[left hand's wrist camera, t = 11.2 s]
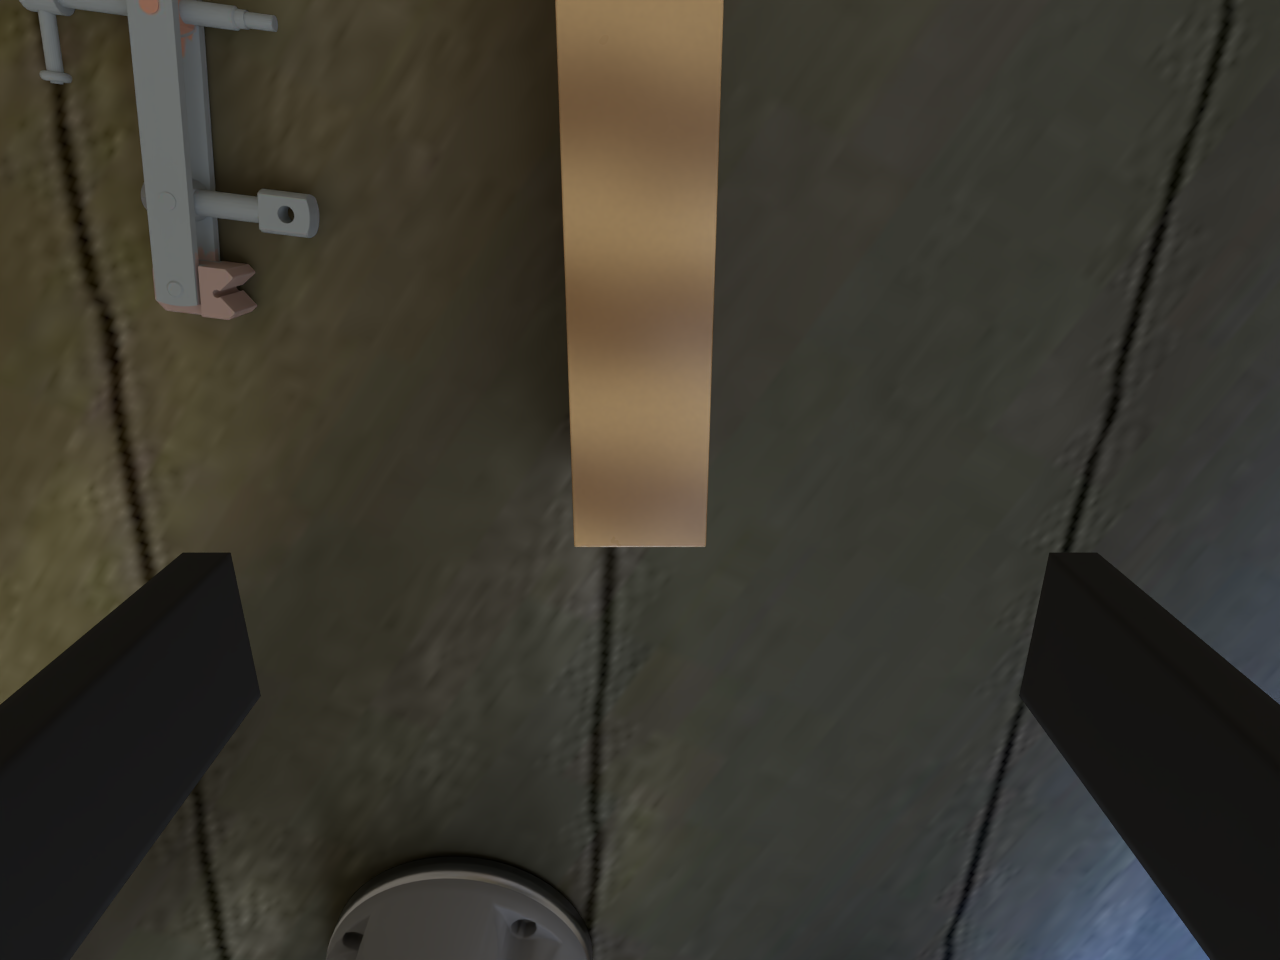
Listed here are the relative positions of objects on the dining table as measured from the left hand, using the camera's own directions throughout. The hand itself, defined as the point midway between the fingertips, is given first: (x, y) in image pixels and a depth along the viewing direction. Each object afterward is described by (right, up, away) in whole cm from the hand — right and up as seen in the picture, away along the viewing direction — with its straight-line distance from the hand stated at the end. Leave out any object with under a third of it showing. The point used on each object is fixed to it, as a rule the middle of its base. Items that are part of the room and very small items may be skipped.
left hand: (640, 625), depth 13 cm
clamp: (-17, +17, +18) cm, 30 cm away
